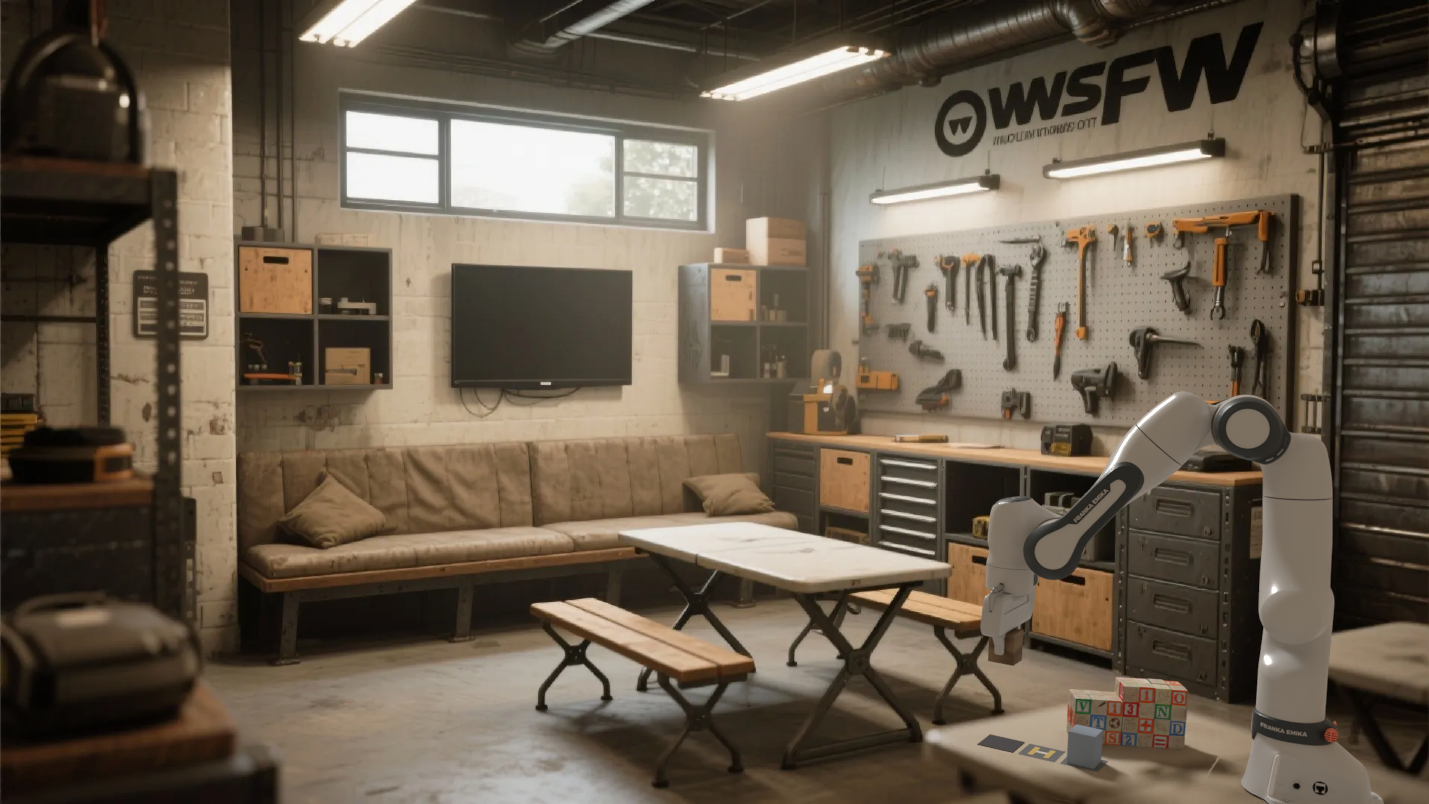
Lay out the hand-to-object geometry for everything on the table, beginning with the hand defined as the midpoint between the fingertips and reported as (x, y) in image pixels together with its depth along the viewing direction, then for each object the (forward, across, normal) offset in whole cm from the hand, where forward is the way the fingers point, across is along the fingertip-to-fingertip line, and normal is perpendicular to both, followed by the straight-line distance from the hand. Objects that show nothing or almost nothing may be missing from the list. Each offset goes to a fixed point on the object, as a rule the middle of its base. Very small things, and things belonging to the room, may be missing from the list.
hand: (1005, 650), depth 227 cm
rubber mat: (+19, 0, 0) cm, 19 cm away
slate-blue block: (+18, 0, -16) cm, 24 cm away
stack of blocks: (+19, +17, -19) cm, 32 cm away
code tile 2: (+19, 0, -16) cm, 25 cm away
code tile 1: (+19, 0, -8) cm, 20 cm away
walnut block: (+2, 0, 0) cm, 2 cm away
